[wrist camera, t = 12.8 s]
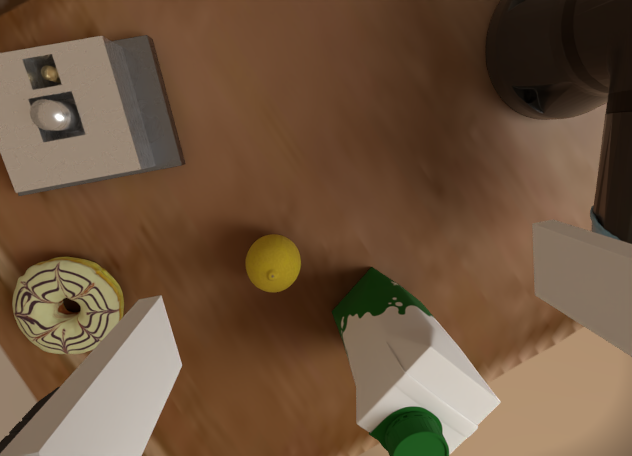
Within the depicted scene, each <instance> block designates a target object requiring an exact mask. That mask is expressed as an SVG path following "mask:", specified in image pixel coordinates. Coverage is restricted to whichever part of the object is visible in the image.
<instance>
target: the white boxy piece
mask: <svg viewBox="0 0 632 456" xmlns="http://www.w3.org/2000/svg"><path fill="white" fill-rule="evenodd" d="M46 65H49V66H52V67H56V68H57V71H58V74H59V77H60V80H61V83H62V85H58V86H57V84H56V82H53V81H49V80H46V79H44V78H43V76H42V74H41V69H42V68H43V67H44V66H46ZM41 99H45V100H52V101H58V102H64V101H69V100H75V103H76V106H77V109H78V112H79V115H80V118H81V122H82V125H83V128H84V131H85V134H86V135H81V136H76V137H70V138H67V135H66V132H65V131H55V130H43V129H41V128H39V127H37V126H36V125H35V124H34V123H33V121H32V119H31V117H30V108H31V106H32V104H33V103H34V102H36V101H37V100H41ZM0 153H1V156H2V158H3V161H4V163H5V166H6V169H7V171H8V174H9V177H10V179H11V182H12V184H13V187H14V190H15V192H16V193H18V192H23V191H28V190H34V189H39V188H44V187H50V186H55V185H60V184H66V183H71V182H76V181H82V180H87V179H92V178H98V177H103V176H108V175H114V174H119V173H124V172H130V171H135V170H140V169H145V168H149V167H154V166H156V165H155V161H154V158H153V154H152V151H151V147H150V143H149V140H148V136H147V133H146V129H145V126H144V122H143V119H142V115H141V112H140V108H139V105H138V101H137V98H136V94H135V90H134V87H133V83H132V80H131V76H130V73H129V69H128V66H127V62H126V59H125V55H124V52H123V48H122V47H121V46H120V45H118V44H116V43H114V42H113V41H111V40H109V39H107V38H105V37H104V36H97V37H91V38H86V39H80V40H74V41H68V42H62V43H57V44H51V45H45V46H39V47H34V48H28V49H22V50H16V51H10V52H5V53H0Z"/></svg>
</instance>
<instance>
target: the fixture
mask: <svg viewBox="0 0 632 456" xmlns="http://www.w3.org/2000/svg"><path fill="white" fill-rule="evenodd" d="M113 42H114V43H116V44H118V45H120V46H121V47H122V48H123V52H124V55H125V59H126V62H127V66H128V69H129V73H130V76H131V80H132V83H133V87H134V90H135V94H136V98H137V101H138V105H139V108H140V112H141V115H142V119H143V122H144V126H145V129H146V133H147V136H148V140H149V143H150V147H151V151H152V154H153V158H154V161H155V165H156V166H154V167H149V168H145V169H140V170H135V171H130V172H124V173H119V174H114V175H108V176H103V177H98V178H92V179H87V180H82V181H76V182H71V183H66V184H60V185H55V186H50V187H44V188H39V189H34V190H28V191H23V192H18V195H19V196H22V195H27V194H32V193H38V192H43V191H48V190H53V189H59V188H64V187H69V186H75V185H80V184H85V183H91V182H96V181H101V180H106V179H112V178H117V177H122V176H128V175H133V174H138V173H143V172H149V171H154V170H159V169H165V168H170V167H175V166H181V165H184V164H185V160H184V157H183V153H182V149H181V145H180V142H179V138H178V134H177V130H176V126H175V123H174V119H173V115H172V111H171V108H170V104H169V100H168V96H167V92H166V89H165V85H164V81H163V77H162V74H161V70H160V66H159V62H158V58H157V55H156V51H155V47H154V43H153V39H151V38H150V37H149V36H147V35H145V36H139V37H133V38H128V39H122V40H116V41H113ZM41 74H42V76H43V78H44V79H46V80H49V81H53V82H56V84H57V86H58V85H62V83H61V80H60V77H59V74H58V71H57V68H56V67H52V66H49V65H46V66H44V67H43V68H42V69H41ZM30 117H31V119H32V121H33V123H34V124H35V125H36V126H37V127H39V128H41V129H43V130H55V131H65V132H66V135H67V138H70V137H76V136H81V135H86V134H85V131H84V128H83V125H82V122H81V118H80V115H79V112H78V109H77V106H76V103H75V100H69V101H64V102H58V101H52V100H45V99H41V100H37V101H36V102H34V103H33V104H32V106H31V108H30Z"/></svg>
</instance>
